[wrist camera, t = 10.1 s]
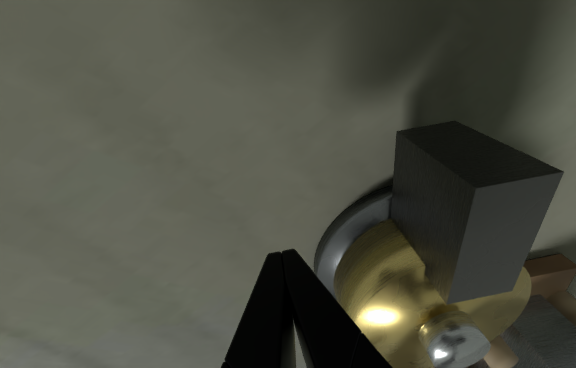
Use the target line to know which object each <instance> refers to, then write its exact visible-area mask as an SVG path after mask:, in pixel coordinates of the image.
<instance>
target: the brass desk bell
mask: <svg viewBox="0 0 576 368" xmlns="http://www.w3.org/2000/svg"><path fill="white" fill-rule="evenodd" d="M392 191H393V185H392V186H389V187H386V188H383V189H381V190H378V191H376V192H374V193H371V194H369V195H367V196H365V197H364V198H362V199H360V200H359V201H357V202H355V203H354V204H353V205H351V206H350V207H349V208H347V209H346V210H345V211H344V212H343V213H341V214H340V215H339V216H338V217H337V218H336V219H335V220H334V221H333V223H332V224H331V225H330V226H329V227H328V229H327V230H326V232H325V233H324V235H323V236H322V238H321V240H320V242H319V244H318V247H317V250H316V253H315V258H314V273H315V274H316V276H317V277H318V278H319V279H320V281H321V282H322V283H323V284H324V286H325V287H326V288H327V289H328V290H329V292H330V293H331V294H332V295H333V297H334V298H335V299H336V296H335V292H334V287H333V281H334V275H335V271H336V268H337V266H338V263H339V262H340V260H341V258H342V256H343V255H344V254H345V252H346V251H347V250H348V248H349V247H350V246H351V245H352V244H353V243H354V242H355V241H356V240H357V239H358V238H360V237H361V236H362V235H363V234H364V233H366V232H367V231H369V230H370V229H372V228H373V227H375V226H377V225H378V224H380V223H382V222H384V221H386V220H388V219H390V218H391V205H392ZM336 300H337V299H336ZM418 336H419V339H420V341H421V343H422V344H423V346H424V348H425V350H426V352H427V354H428V355H429V357H430V359H431V361H432V363H433V365H434V366H435V368H465V367H468V366H470V365H472V364H474V363H476V362H478V361H479V360H481V359H482V358H483V357H484V356H485V355H486V354H487V353H488V352H489V350H490V347H491V345H490V342H489V341H488V340H487V338H486V337H485V336H484V334H483V333H482V332H481V330H480V329H479V328H478V326H477V325H476V324H475V322H474V321H473V320H472V318H471V317H470V316H469V315H468V314H467V313H466V312H463V311H449V312H445V313H442V314H439V315H437V316H435V317H433V318H431V319H430V320H428V321H427V322H426V323H425V324H424V325H423V326H422V327H421V329H420V330H419V333H418Z"/></svg>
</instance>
